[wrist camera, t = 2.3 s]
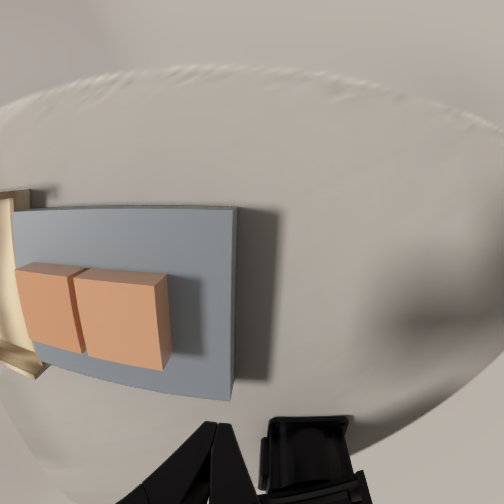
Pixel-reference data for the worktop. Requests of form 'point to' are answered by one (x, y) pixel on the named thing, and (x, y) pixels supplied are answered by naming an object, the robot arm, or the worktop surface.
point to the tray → (14, 295)
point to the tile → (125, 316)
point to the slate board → (151, 261)
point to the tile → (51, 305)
